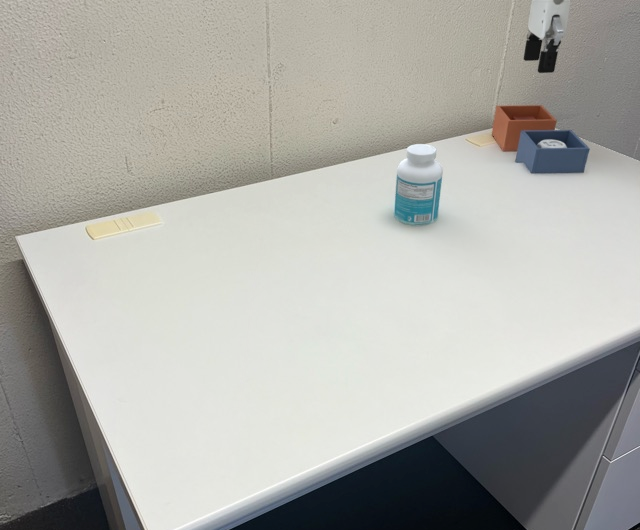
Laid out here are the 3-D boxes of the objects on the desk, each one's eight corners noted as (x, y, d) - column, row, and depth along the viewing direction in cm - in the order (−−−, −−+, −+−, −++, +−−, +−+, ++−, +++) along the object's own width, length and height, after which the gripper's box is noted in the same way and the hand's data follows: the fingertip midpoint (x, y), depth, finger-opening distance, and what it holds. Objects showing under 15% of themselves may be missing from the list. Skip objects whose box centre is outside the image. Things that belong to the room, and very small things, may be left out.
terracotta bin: (535, 134, 140) (541, 105, 136) (549, 150, 132) (556, 120, 128) (491, 134, 140) (496, 105, 136) (503, 151, 132) (508, 120, 128)
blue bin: (563, 160, 127) (571, 129, 123) (581, 181, 119) (590, 148, 115) (515, 161, 127) (521, 130, 123) (529, 181, 119) (536, 149, 115)
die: (530, 163, 125) (535, 139, 122) (554, 162, 125) (559, 138, 122) (539, 173, 121) (545, 149, 118) (564, 172, 121) (570, 147, 118)
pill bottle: (412, 210, 109) (419, 136, 101) (445, 224, 105) (455, 149, 97) (384, 224, 105) (388, 148, 97) (417, 239, 101) (425, 161, 93)
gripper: (591, -23, 109) (570, 76, 119) (559, -35, 123) (543, 55, 133) (549, -22, 109) (532, 78, 119) (522, -34, 123) (508, 56, 133)
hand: (538, 66), depth 126 cm, fingers open, 9 cm apart
